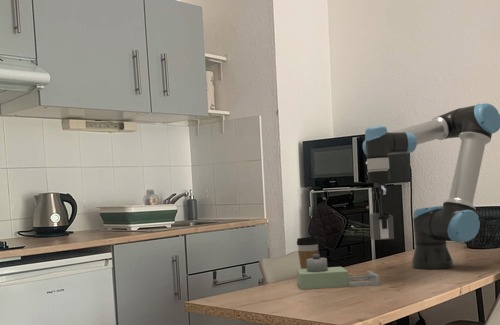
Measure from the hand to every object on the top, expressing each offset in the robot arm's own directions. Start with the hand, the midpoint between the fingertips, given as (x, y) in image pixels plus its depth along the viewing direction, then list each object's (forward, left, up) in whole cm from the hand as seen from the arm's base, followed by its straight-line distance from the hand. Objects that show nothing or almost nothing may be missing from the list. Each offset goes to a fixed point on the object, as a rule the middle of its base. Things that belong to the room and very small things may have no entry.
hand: (382, 237), depth 195 cm
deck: (+22, +1, -15) cm, 27 cm away
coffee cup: (+24, -18, -15) cm, 34 cm away
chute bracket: (+10, +1, -15) cm, 18 cm away
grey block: (0, 0, 0) cm, 0 cm away
